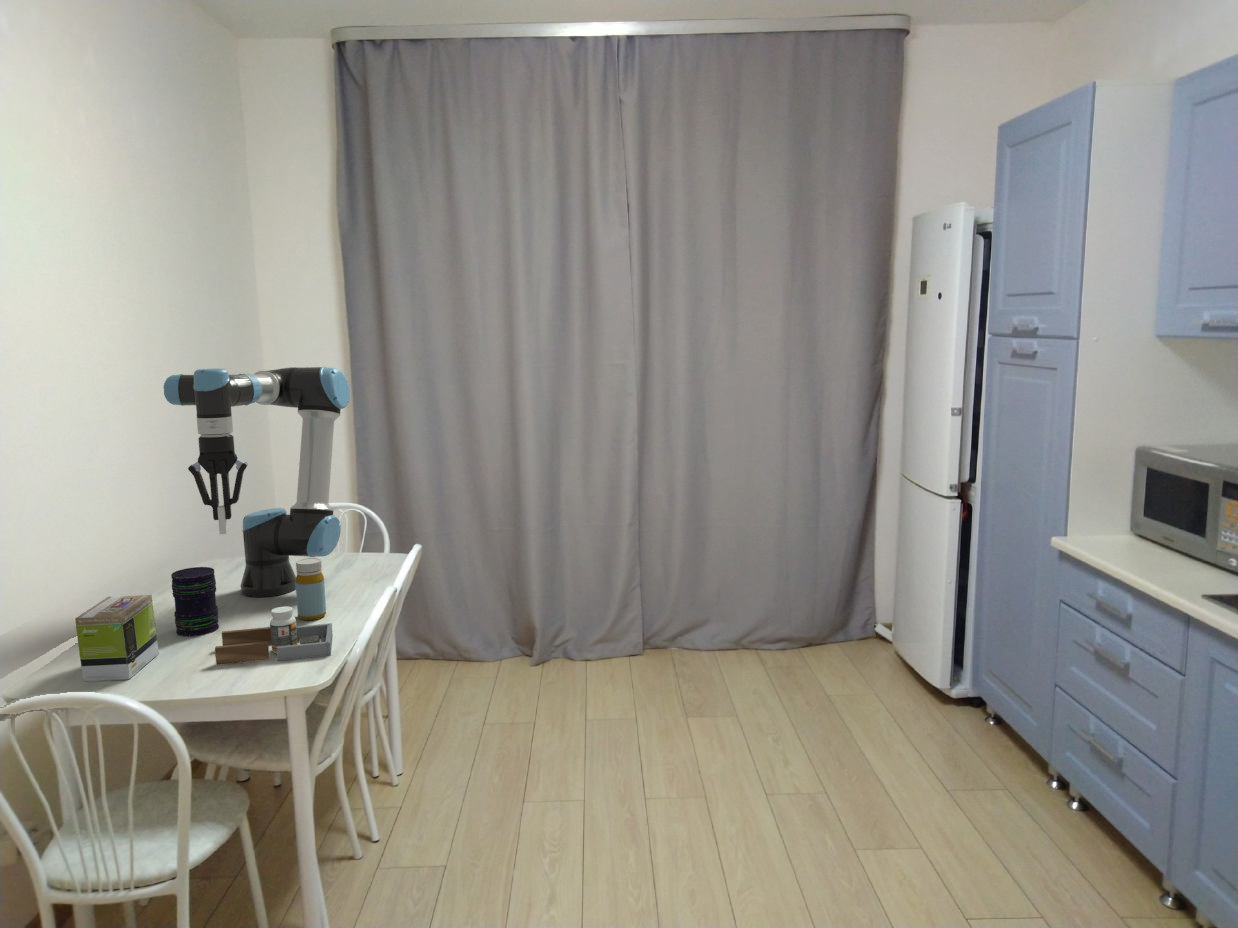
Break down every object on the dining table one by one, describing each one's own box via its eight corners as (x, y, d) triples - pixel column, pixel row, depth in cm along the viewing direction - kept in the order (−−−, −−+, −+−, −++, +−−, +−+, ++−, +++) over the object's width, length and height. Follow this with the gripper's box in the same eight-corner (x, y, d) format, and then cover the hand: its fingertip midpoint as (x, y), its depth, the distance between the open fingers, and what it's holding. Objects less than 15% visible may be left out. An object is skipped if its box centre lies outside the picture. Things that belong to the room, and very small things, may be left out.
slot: (223, 647, 207) (222, 631, 206) (273, 642, 210) (272, 626, 209) (216, 665, 196) (214, 648, 196) (268, 659, 199) (267, 642, 199)
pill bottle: (299, 651, 204) (296, 610, 202) (273, 656, 201) (270, 614, 200) (296, 644, 209) (293, 604, 207) (270, 648, 206) (267, 607, 205)
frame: (282, 639, 212) (281, 627, 211) (332, 634, 215) (331, 623, 215) (277, 660, 199) (276, 648, 198) (330, 655, 202) (330, 642, 201)
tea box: (114, 656, 202) (108, 594, 200) (160, 654, 203) (154, 593, 201) (80, 682, 187) (73, 616, 185) (129, 680, 188) (123, 614, 186)
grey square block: (302, 646, 208) (301, 636, 207) (320, 645, 209) (319, 635, 208) (300, 652, 204) (299, 642, 204) (318, 651, 205) (318, 640, 205)
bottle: (317, 621, 225) (313, 565, 222) (292, 620, 226) (288, 563, 224) (331, 613, 231) (327, 558, 229) (307, 611, 233) (303, 556, 230)
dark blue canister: (211, 620, 226) (206, 564, 224) (225, 629, 219) (221, 572, 217) (170, 630, 219) (164, 572, 217) (183, 639, 212) (178, 580, 210)
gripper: (182, 438, 200) (191, 538, 204) (243, 435, 204) (251, 534, 207) (188, 434, 207) (196, 531, 211) (247, 431, 211) (254, 527, 214)
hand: (223, 532), depth 209 cm, fingers closed
